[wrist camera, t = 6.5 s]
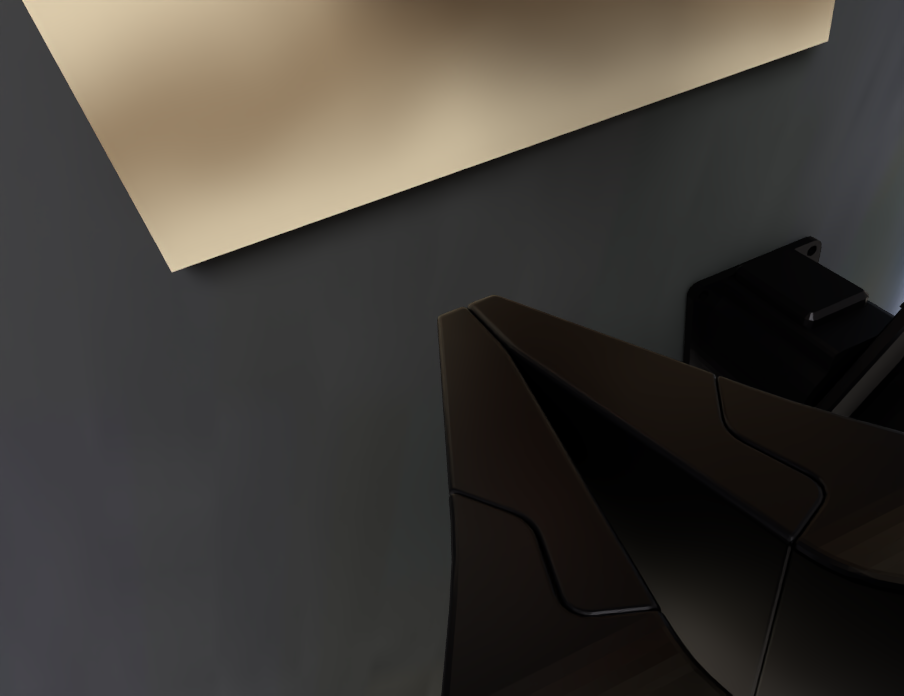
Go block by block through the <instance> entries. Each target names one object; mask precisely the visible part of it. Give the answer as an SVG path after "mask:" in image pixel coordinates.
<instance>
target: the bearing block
mask: <svg viewBox="0 0 904 696" xmlns="http://www.w3.org/2000/svg"><path fill="white" fill-rule="evenodd" d="M22 1H23V2H24V4H25V6H26V8H27V10H28V12H29V13H30V15H31V17H32V19H33V21H34V22H35V24H36V26H37V28H38V30H39V32H40V33H41V35H42V37H43V39H44V41H45V42H46V44H47V46H48V48H49V50H50V52H51V53H52V55H53V57H54V59H55V61H56V62H57V64H58V66H59V68H60V70H61V72H62V73H63V75H64V77H65V79H66V81H67V82H68V84H69V86H70V88H71V90H72V91H73V93H74V95H75V97H76V99H77V101H78V102H79V104H80V106H81V108H82V110H83V111H84V113H85V115H86V117H87V119H88V121H89V122H90V124H91V126H92V128H93V130H94V131H95V133H96V135H97V137H98V139H99V141H100V142H101V144H102V146H103V148H104V150H105V151H106V153H107V155H108V157H109V159H110V161H111V162H112V164H113V166H114V168H115V170H116V171H117V173H118V175H119V177H120V179H121V181H122V182H123V184H124V186H125V188H126V190H127V191H128V193H129V195H130V197H131V199H132V201H133V202H134V204H135V206H136V208H137V210H138V211H139V213H140V215H141V217H142V219H143V221H144V222H145V224H146V226H147V228H148V230H149V231H150V233H151V235H152V237H153V239H154V241H155V242H156V244H157V246H158V248H159V250H160V251H161V253H162V255H163V257H164V259H165V261H166V262H167V264H168V266H169V268H170V270H171V271H172V272H174V271H177V270H180V269H182V268H185V267H188V266H191V265H194V264H197V263H199V262H202V261H205V260H208V259H211V258H214V257H217V256H219V255H222V254H225V253H228V252H231V251H234V250H236V249H239V248H242V247H245V246H248V245H251V244H253V243H256V242H259V241H262V240H265V239H268V238H270V237H273V236H276V235H279V234H282V233H285V232H287V231H290V230H293V229H296V228H299V227H302V226H305V225H307V224H310V223H313V222H316V221H319V220H322V219H324V218H327V217H330V216H333V215H336V214H339V213H341V212H344V211H347V210H350V209H353V208H356V207H358V206H361V205H364V204H367V203H370V202H373V201H375V200H378V199H381V198H384V197H387V196H390V195H393V194H395V193H398V192H401V191H404V190H407V189H410V188H412V187H415V186H418V185H421V184H424V183H427V182H429V181H432V180H435V179H438V178H441V177H444V176H446V175H449V174H452V173H455V172H458V171H461V170H463V169H466V168H469V167H472V166H475V165H478V164H480V163H483V162H486V161H489V160H492V159H495V158H498V157H500V156H503V155H506V154H509V153H512V152H515V151H517V150H520V149H523V148H526V147H529V146H532V145H534V144H537V143H540V142H543V141H546V140H549V139H551V138H554V137H557V136H560V135H563V134H566V133H568V132H571V131H574V130H577V129H580V128H583V127H586V126H588V125H591V124H594V123H597V122H600V121H603V120H605V119H608V118H611V117H614V116H617V115H620V114H622V113H625V112H628V111H631V110H634V109H637V108H639V107H642V106H645V105H648V104H651V103H654V102H656V101H659V100H662V99H665V98H668V97H671V96H674V95H676V94H679V93H682V92H685V91H688V90H691V89H693V88H696V87H699V86H702V85H705V84H708V83H710V82H713V81H716V80H719V79H722V78H725V77H727V76H730V75H733V74H736V73H739V72H742V71H744V70H747V69H750V68H753V67H756V66H759V65H761V64H764V63H767V62H770V61H773V60H776V59H779V58H781V57H784V56H787V55H790V54H793V53H796V52H798V51H801V50H804V49H807V48H810V47H813V46H815V45H818V44H821V43H824V42H827V41H828V38H829V32H830V26H831V20H832V14H833V8H834V3H835V0H22Z"/></svg>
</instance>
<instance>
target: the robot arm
mask: <svg viewBox="0 0 904 696" xmlns="http://www.w3.org/2000/svg"><path fill="white" fill-rule="evenodd" d="M821 245H822V243H821V242H820V241H819V240H817V239H815V238H814V237H811V236H809V237H806V238H803V239H801V240H798V241H796V242H793V243H791V244H789V245H786V246H784V247H781V248H779V249H776V250H774V251H771V252H769V253H767V254H764V255H762V256H759V257H757V258H754V259H752V260H750V261H747V262H745V263H742V264H740V265H737V266H735V267H733V268H730V269H728V270H725V271H723V272H720V273H718V274H716V275H713V276H711V277H708V278H706V279H703V280H701V281H698V282H697V283H695V284H694V285H693V286H692V287H691V288H690V289H689V291H688V294H687V309H686V328H685V346H684V363H683V362H680V361H677V360H675V359H672V358H669V357H666V356H663V355H661V354H658V353H655V352H652V351H650V350H647V349H644V348H641V347H639V346H636V345H633V344H630V343H628V342H625V341H622V340H619V339H617V338H614V337H611V336H608V335H605V334H603V333H600V332H597V331H594V330H592V329H589V328H586V327H583V326H581V325H578V324H575V323H572V322H570V321H567V320H564V319H561V318H559V317H556V316H553V315H550V314H547V313H545V312H542V311H539V310H536V309H534V308H531V307H528V306H525V305H523V304H520V303H517V302H514V301H512V300H509V299H506V298H503V297H501V296H497V295H491V296H488V297H486V298H483V299H481V300H478V301H476V302H473V303H471V304H469V305H468V307H467V308H465V307H460V308H458V309H455V310H452V311H450V312H447V313H445V314H442V315H440V316H439V317H438V319H437V325H438V340H439V354H440V369H441V383H442V398H443V413H444V427H445V442H446V456H447V471H448V485H449V494H450V497H449V506H450V520H451V552H452V566H451V585H450V604H449V617H448V628H447V639H446V650H445V661H444V671H443V682H442V693H441V696H904V302H903V303H902V304H901V305H900V307H901V310H900V311H899V312H898V313H897V314H896V315H895V316H894V315H892V314H890V313H889V312H887V311H885V310H883V309H882V308H880V307H878V306H877V305H875V304H873V303H872V302H870V301H868V297H869V294H868V293H867V292H866V291H865V290H863V289H862V288H860V287H858V286H856V285H855V284H853V283H851V282H850V281H848V280H846V279H844V278H843V277H841V276H839V275H838V274H836V273H834V272H832V271H831V270H829V269H827V268H826V267H824V266H822V265H820V264H819V263H818V262H819V257H820V252H821Z"/></svg>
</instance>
